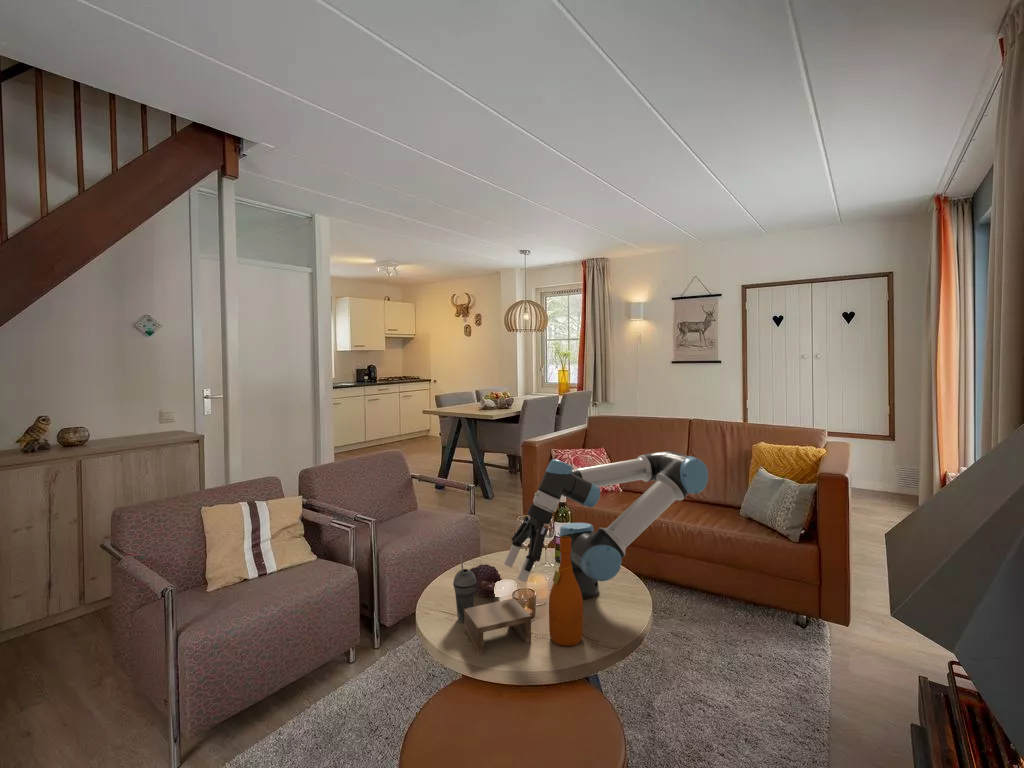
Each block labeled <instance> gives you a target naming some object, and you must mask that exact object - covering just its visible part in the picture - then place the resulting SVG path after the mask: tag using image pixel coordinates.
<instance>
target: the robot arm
mask: <svg viewBox="0 0 1024 768" xmlns="http://www.w3.org/2000/svg"><path fill="white" fill-rule="evenodd" d="M636 481H642V482H651V481H653V482H654V483H653V484H652V485H651V486H650V487H649V488H648V489H646V491H644V492H643V493H642V494H641V495H639V497H638V498H637V499H636V500H635V501H634V502H633V503H632V504H630V506H628V507H627V508H626V509H625V510H624V511H622V513H621V514H620V515H619V516H618V517H616V519H615V520H613V521H612V523H611V522H610V524H609V525H608V526H607V527H599V528H598V529H597V530H596V531H595V529H594V525H592V524H591V523H587V522H570V523H566V524H562V526H560V528H559V538H560V537H562V536H569V537H570V538H571V549H572V552H571V553H570V559H571V564H572V569H573V573H574V576H575V578H576V580H577V583H578V585H579V588H580V590H581V594H582V598H583V600H586V599H591V598H593V597H595V596H596V595H598V594H599V590H600V589H599V587H600V586H599V585H600V584H599V582H607V581H609V580H611V579H613V578H615V577H616V576H617V575H618V573H619V572H620V571H621V570H620V569H622V568H621V565H622V563H623V562H622V561H623V560H622V559H624V558H625V556H626V548H628V547H629V546H630V545H631V544H632V543H633V542H634V541H635V540H636V539H637V538H638V537H640V535H641V534H642V533H644V531H645V530H646V529H647V528H649V526H650V525H651V524H653V523H654V521H655V520H657V518H659V517H660V516H661V515H662V514H663V513H664V512H665V511H666V510H667V509H668V508H669V507H670V506H671V505H672V504H673V503H674V502H676V501H683V500H684V499H686V497H688V495H690V494H692V495H695V494H699V493H701V492H703V491H704V490H705V489H706V487H707V485H708V482H709V470H708V468H707V464H705V462H704V461H702V459H699V458H697V457H695V456H693V455H692V456H691V455H685V454H682V453H679V452H675V451H670V450H669V451H668V450H666V451H665V450H663V451H658V452H657V451H656V452H650V453H646V454H641V455H638V456H637V458H634V459H628V460H621V461H616V462H611V463H605V464H603V463H602V464H599V465H593V466H587V467H581V468H575V469H574V467H573V466H572V465H570V464H569V463H566V462H564V461H561V460H560V459H557V458H552V459H551V460H550V462H549V463H548V465H547V466H546V469H545V472H544V474H543V477H542V478H541V482H540V484H539V486H538V488H537V491H536V492H535V493H534V497H533V500H532V501H533V503H531V504H530V506H529V509H528V510H527V512H526V514H527V515H528V516H527V515H526V516H525V517H524V520H523V521H522V523H521V525H520V526H519V527H518V528H517V530H516V532H515V533H514V535H513V536H512V537H511V541H512V543H511V544H512V545H511V547H510V549H509V551H508V553H507V555H506V558H505V560H504V563H503V565H504V566H506V567H509V568H513V566H514V563H515V562H516V559H517V557H518V555H519V552H520V550H521V548H522V545H523V543H525V542H526V541H527V539H528V538H529V544H528V545H529V547H528V553H527V555H526V556H525V559H524V562H523V564H522V566H521V569H520V571H519V573H518V575H517V577H516V580H519V581H521V582H524V583H525V584H526V583H527V580H528V578H529V577H530V574H531V572H532V569H533V568H534V567H533V566H534V564H535V563H536V562H540V560H541V558H542V557H541V556H542V552H543V548H544V544H545V537H546V535H547V534H548V533H547V532H548V528H546V527H544V525H545V524H546V525H549V524H550V523H551V521H552V519H553V517H554V513H553V512H556V510H557V507H558V505H559V503H560V501H561V498H562V496H563V497H565V498H567V499H569V500H570V501H573V502H576V503H578V504H580V505H582V506H584V507H586V508H593V507H595V506H596V505H597V503H598V502H599V500H600V498H601V489H600V488H603V487H607V486H612V485H618V484H619V485H620V484H624V483H630V482H636ZM560 563H561V553H560V552H559V564H560Z"/></svg>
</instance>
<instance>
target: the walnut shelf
mask: <svg viewBox="0 0 1024 768" xmlns="http://www.w3.org/2000/svg"><path fill="white" fill-rule="evenodd" d="M463 625H464V628H463V629H464V630H463V631H464V635H465V637H466V636H467V637H466V639H467V640H468V641H469V643H470V644H471V647H473V649H474V650H476V651H477V652H476V651H475V652H476V654H477V653H478V654H481V655H484V654H483V653H484V652H485V651H484V633H487V632H490V631H494V630H495V631H496V630H499V629H503V628H507V627H512V628H513V629H514V630H515V631H516V632H517V634H519V636H520V637H521V639H522V640H523V641H524V642H525V643H527V644H528V643H530V642H532V615H531V614H530V613H529V612H528V611H527V610H526V609H525V608H524V607H523V606H522V605H521V604H520V603H519V602H518V601H517V600H516V598H509V599H504V600H499V601H495V602H489V603H485V604H480V605H476V606H475V605H474V607H471V608H466V609H464V623H463ZM478 654H477V655H478Z"/></svg>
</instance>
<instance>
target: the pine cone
mask: <svg viewBox="0 0 1024 768" xmlns="http://www.w3.org/2000/svg"><path fill="white" fill-rule="evenodd" d="M469 570H470V571H472V572H473V574H474V575H475V578H476V582H477V583H476V588H475V594H478V596H482V597H488V598H489V597H492V598H493V594H494V586H495V583H496V582H497V581H500V580H503V579H502V577H501V574H500V573H499V570H498V569H497V568H496V567H495V566H492V565H489V564H486V563H485V564H482V563H481V564H480V563H479V565H478V566H475V567H474V566H473V567H471V568H470V569H469ZM494 595H495V594H494Z"/></svg>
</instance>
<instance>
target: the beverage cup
mask: <svg viewBox="0 0 1024 768" xmlns="http://www.w3.org/2000/svg"><path fill="white" fill-rule="evenodd" d="M459 557H460V558H459V559H460V566H461V570H459V571H457V573H456V574H455V575H454V577H453V583H452V585H453V588H454V589H453V590H454V593H455V604H456V614H457V621H458V622H460V623H463V624H464V609H466V608H471V607H475V594H476V592H475V588H476V583H477V582H476V578H475V575H474V574H473V572H472V571H470V569H466V568H464V565H463V556H462V555H460V556H459Z"/></svg>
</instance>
